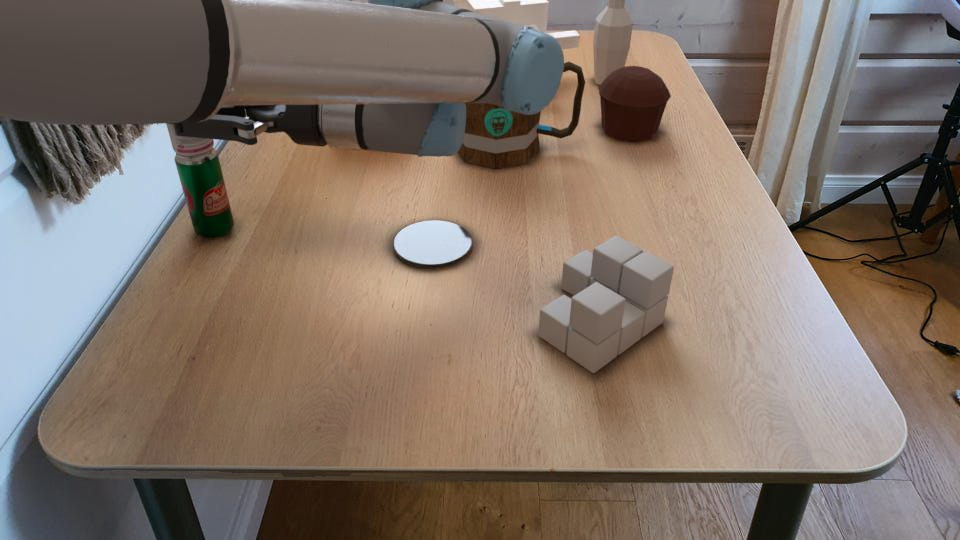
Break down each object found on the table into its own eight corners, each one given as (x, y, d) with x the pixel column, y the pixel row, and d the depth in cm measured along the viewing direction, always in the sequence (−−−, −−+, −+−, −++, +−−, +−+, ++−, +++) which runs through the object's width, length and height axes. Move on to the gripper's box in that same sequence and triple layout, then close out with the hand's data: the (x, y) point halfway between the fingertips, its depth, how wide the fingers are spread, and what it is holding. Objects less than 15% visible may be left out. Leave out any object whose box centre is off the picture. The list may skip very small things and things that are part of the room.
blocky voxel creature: (465, 120, 128) (425, 52, 148) (596, 103, 134) (541, 39, 154) (466, 39, 118) (424, -22, 138) (607, 24, 124) (547, -33, 144)
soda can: (216, 244, 94) (195, 161, 87) (186, 235, 96) (163, 152, 89) (243, 224, 98) (224, 143, 91) (213, 216, 100) (192, 135, 92)
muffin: (678, 139, 118) (688, 79, 112) (617, 151, 115) (625, 90, 109) (638, 110, 127) (646, 53, 121) (581, 120, 124) (587, 62, 118)
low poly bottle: (583, 78, 138) (594, -46, 125) (612, 73, 140) (626, -50, 127) (602, 90, 133) (615, -37, 120) (631, 85, 136) (647, -41, 122)
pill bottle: (222, 146, 90) (207, 80, 85) (189, 161, 87) (171, 93, 82) (198, 135, 92) (182, 70, 87) (165, 149, 89) (146, 83, 84)
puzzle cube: (582, 274, 89) (588, 219, 84) (663, 322, 82) (675, 265, 77) (511, 318, 83) (513, 261, 78) (593, 374, 76) (601, 315, 71)
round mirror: (405, 275, 89) (405, 271, 89) (385, 232, 97) (385, 228, 96) (483, 259, 92) (483, 255, 91) (457, 218, 99) (457, 214, 99)
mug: (450, 167, 110) (448, 71, 101) (456, 128, 121) (455, 37, 112) (581, 171, 110) (591, 74, 101) (576, 130, 120) (584, 40, 111)
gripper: (305, 181, 79) (106, 162, 82) (356, 111, 93) (185, 97, 96) (294, 116, 74) (85, 99, 78) (350, 53, 88) (170, 41, 92)
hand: (140, 98), depth 87 cm, fingers closed on pill bottle, 5 cm apart
